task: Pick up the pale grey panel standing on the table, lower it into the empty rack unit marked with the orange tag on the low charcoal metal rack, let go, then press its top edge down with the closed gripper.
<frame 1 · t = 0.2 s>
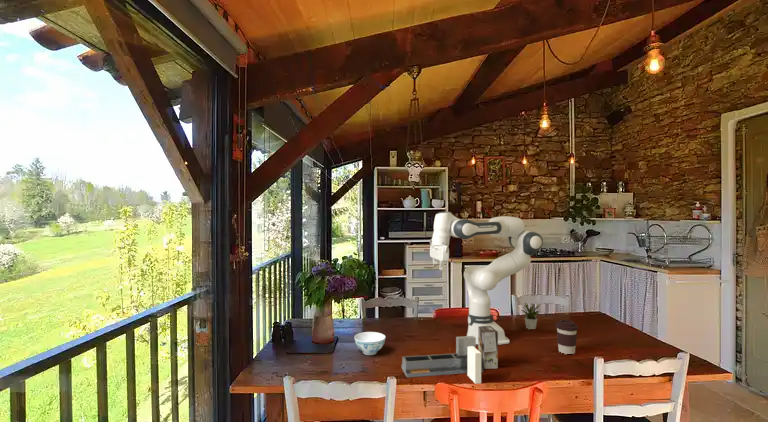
hand: (437, 268, 197), 39 cm above the table, tool pointing down, fingers open, 8 cm apart
chinaware: (369, 353, 183), on the table
coffee box: (487, 365, 169), on the table
panel rack: (441, 369, 163), on the table
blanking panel: (474, 379, 154), on the table
house plant: (528, 328, 224), on the table
coffee cup: (566, 352, 185), on the table
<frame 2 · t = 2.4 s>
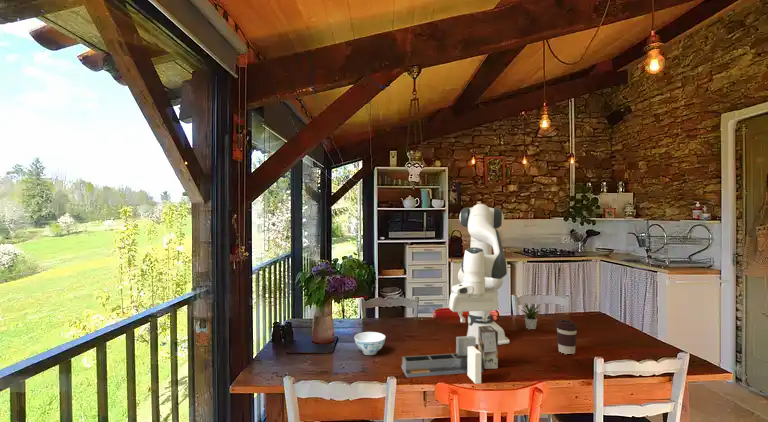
hand: (473, 321, 155), 23 cm above the table, tool pointing down, fingers open, 8 cm apart
nothing on the table moved.
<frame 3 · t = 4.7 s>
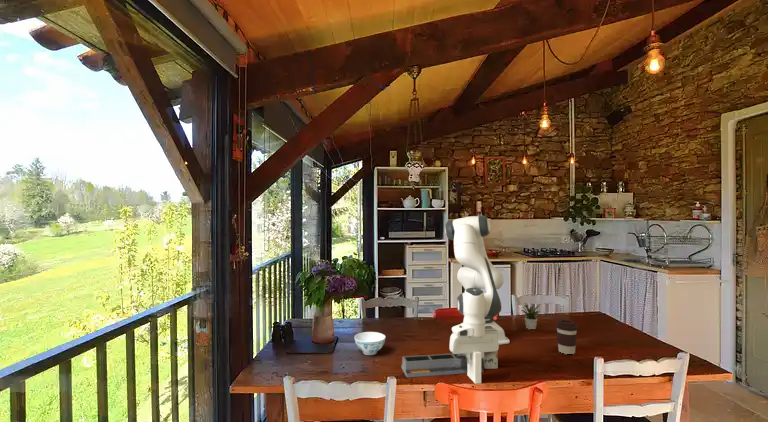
hand: (474, 362, 154), 7 cm above the table, tool pointing down, fingers closed on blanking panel, 2 cm apart
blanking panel: (474, 379, 154), on the table, touching gripper
everything else where it was.
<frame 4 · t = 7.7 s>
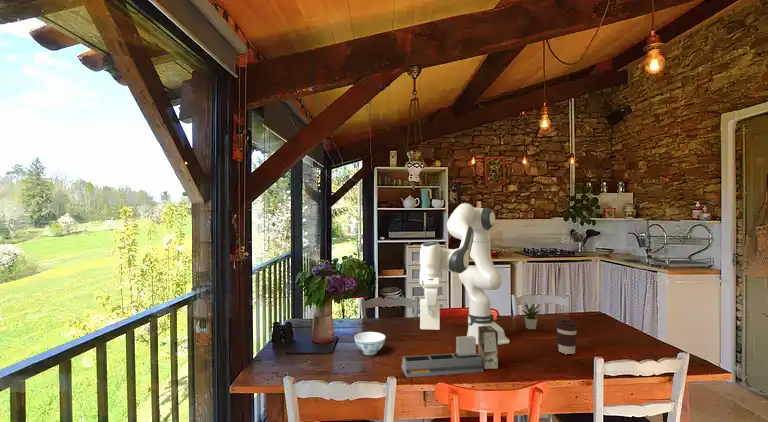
hand: (429, 312, 160), 26 cm above the table, tool pointing down, fingers closed on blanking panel, 2 cm apart
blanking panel: (429, 328, 160), point 19 cm above the table, touching gripper
everything else where it was.
when the fingers open (10 cm above the table, at t = 10.6 s): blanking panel drops 1 cm, resting on panel rack.
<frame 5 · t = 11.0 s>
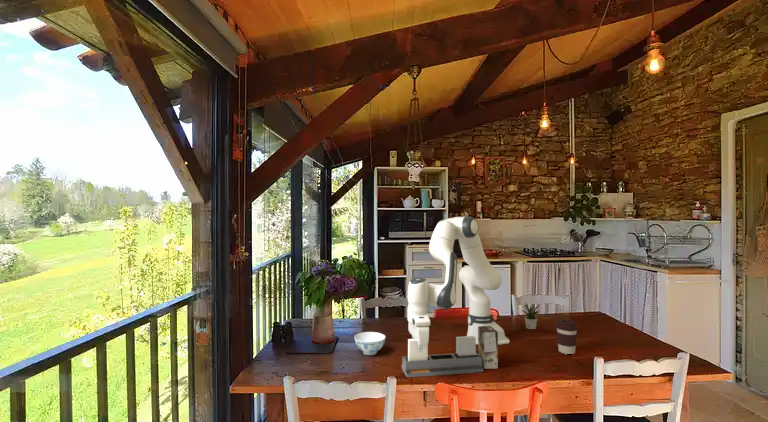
hand: (417, 348, 162), 10 cm above the table, tool pointing down, fingers open, 6 cm apart
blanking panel: (417, 367, 162), point 1 cm above the table, touching panel rack
everything else where it was.
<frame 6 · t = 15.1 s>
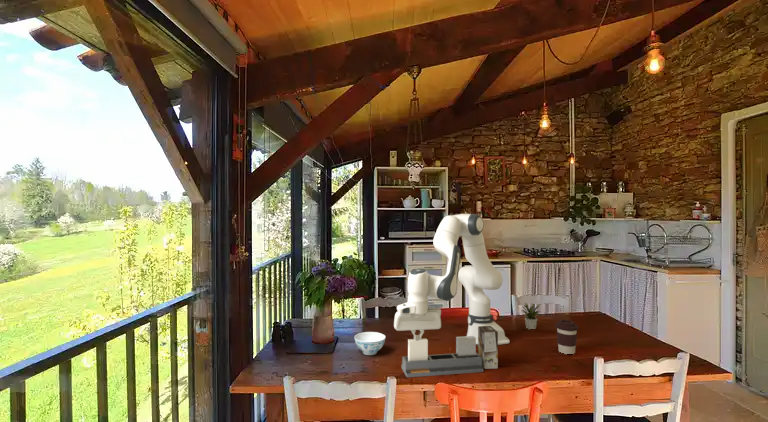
hand: (417, 339, 161), 14 cm above the table, tool pointing down, fingers closed, pressing on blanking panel
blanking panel: (417, 367, 162), point 2 cm above the table, touching gripper, panel rack
everything else where it was.
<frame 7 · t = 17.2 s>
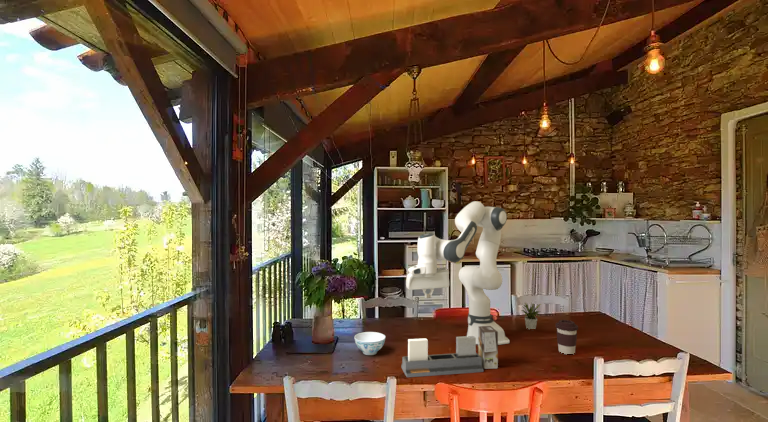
hand: (428, 298, 177), 28 cm above the table, tool pointing down, fingers closed
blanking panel: (417, 367, 162), point 1 cm above the table, touching panel rack
everything else where it was.
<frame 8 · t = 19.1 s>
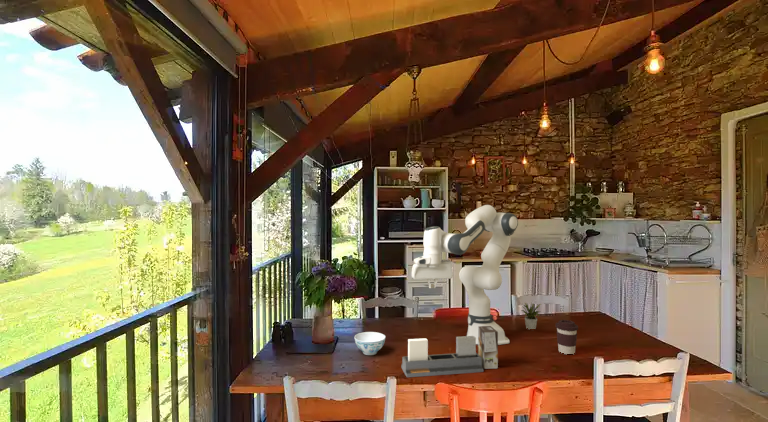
hand: (432, 288, 185), 31 cm above the table, tool pointing down, fingers closed
nothing on the table moved.
at the end: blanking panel 0.1 cm from the target spot on the panel rack, point 1.5 cm above the panel rack's base; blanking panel tilted 0°; the gripper is holding nothing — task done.
